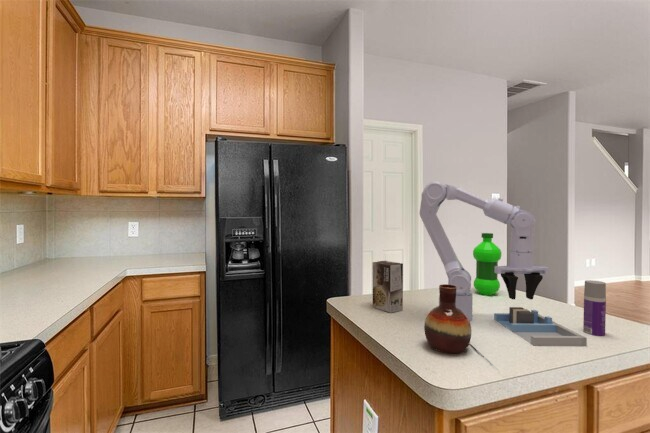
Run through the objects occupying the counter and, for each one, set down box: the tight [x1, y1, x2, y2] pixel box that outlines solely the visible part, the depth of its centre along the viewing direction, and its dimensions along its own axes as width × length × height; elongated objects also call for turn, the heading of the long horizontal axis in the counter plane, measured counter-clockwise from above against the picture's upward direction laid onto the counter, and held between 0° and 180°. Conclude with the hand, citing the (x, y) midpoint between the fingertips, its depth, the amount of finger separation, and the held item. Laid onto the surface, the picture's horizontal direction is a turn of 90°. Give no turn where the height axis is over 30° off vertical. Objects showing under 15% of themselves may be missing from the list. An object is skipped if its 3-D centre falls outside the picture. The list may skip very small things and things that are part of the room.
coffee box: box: [371, 260, 404, 314], centre depth 117 cm, size 9×6×16 cm
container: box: [582, 279, 607, 337], centre depth 92 cm, size 5×5×15 cm
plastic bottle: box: [472, 232, 502, 296], centre depth 139 cm, size 10×10×25 cm
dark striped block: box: [508, 306, 534, 324], centre depth 97 cm, size 4×6×5 cm, turn 179°
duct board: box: [493, 309, 588, 347], centre depth 93 cm, size 13×20×4 cm, turn 0°
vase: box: [423, 284, 472, 355], centre depth 84 cm, size 11×11×15 cm
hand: (520, 298), depth 97 cm, fingers open, 4 cm apart
